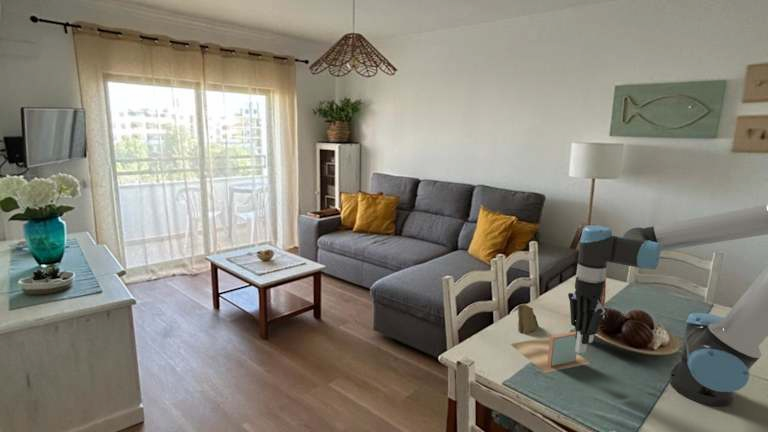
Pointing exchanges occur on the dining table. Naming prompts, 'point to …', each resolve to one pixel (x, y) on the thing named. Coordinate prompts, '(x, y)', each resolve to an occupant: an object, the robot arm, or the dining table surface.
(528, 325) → the rock
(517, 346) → the mat
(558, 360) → the tile
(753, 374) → the dining table surface
